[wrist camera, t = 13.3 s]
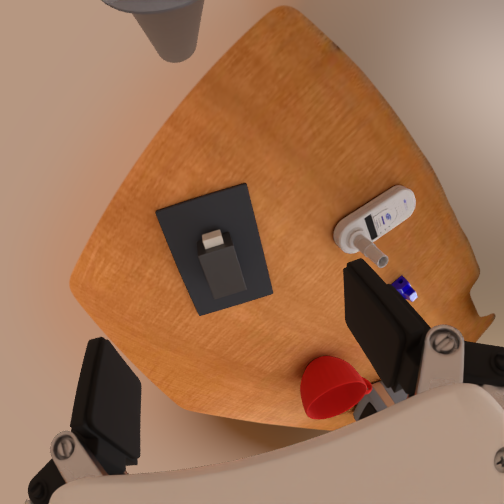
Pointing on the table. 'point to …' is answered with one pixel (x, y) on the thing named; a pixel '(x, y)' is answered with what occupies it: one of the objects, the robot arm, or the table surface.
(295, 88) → the table surface
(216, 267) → the block
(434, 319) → the table surface
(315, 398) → the ceramic cup
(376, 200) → the electronic device
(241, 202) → the desk mat
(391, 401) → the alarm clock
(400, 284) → the cable holder
